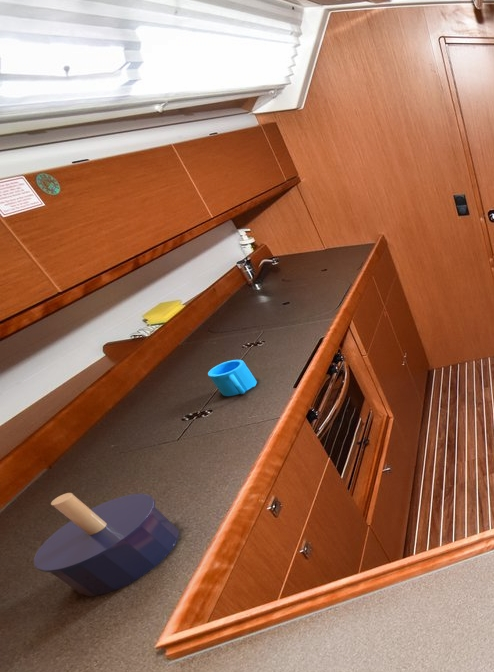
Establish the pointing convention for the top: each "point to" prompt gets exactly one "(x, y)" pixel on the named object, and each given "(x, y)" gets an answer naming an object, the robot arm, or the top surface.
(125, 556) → the pot
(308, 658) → the top surface
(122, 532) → the lid
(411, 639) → the top surface
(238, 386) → the mug
